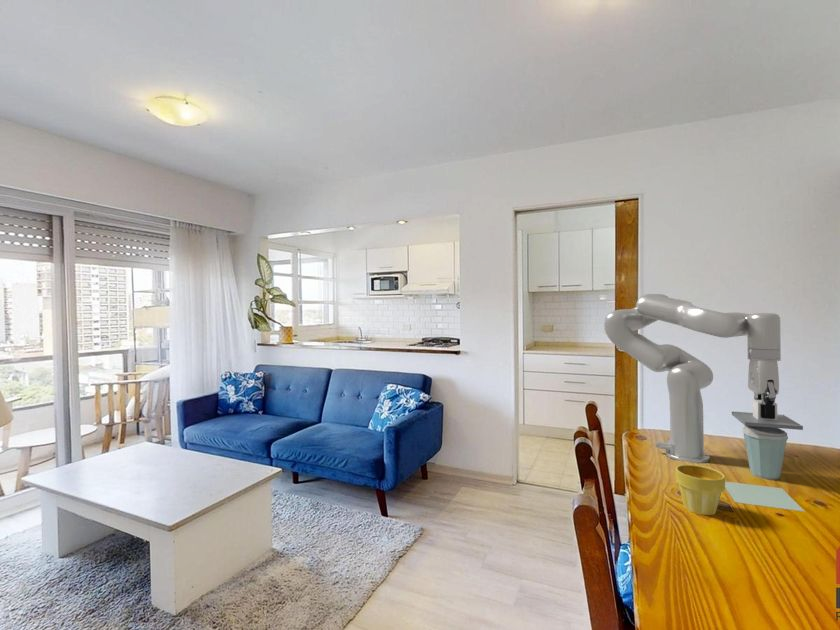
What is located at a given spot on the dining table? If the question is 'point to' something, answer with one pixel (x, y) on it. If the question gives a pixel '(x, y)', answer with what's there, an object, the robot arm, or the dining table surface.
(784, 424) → the lid
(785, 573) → the dining table surface
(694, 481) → the plant pot
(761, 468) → the disposable coffee cup
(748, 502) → the mat
